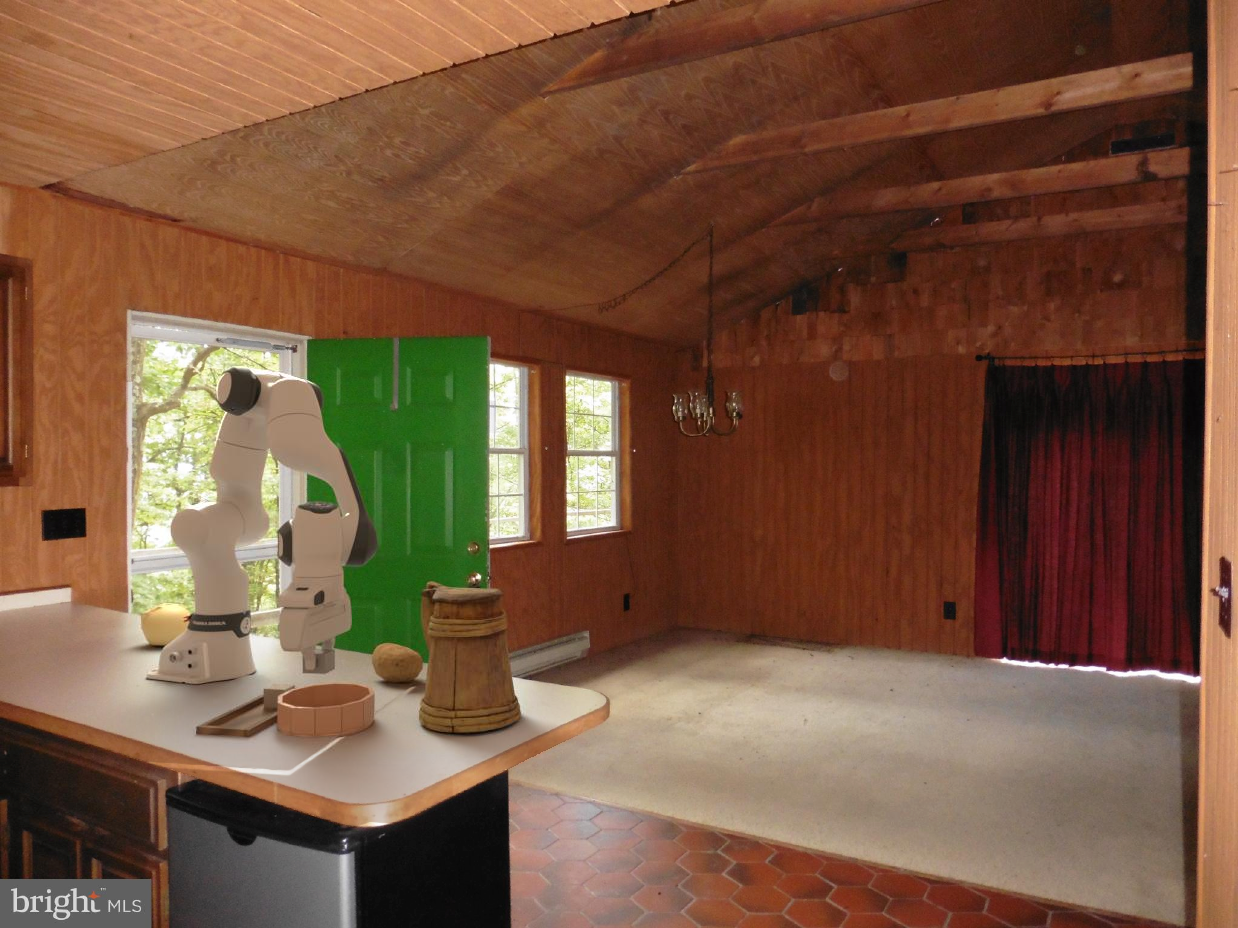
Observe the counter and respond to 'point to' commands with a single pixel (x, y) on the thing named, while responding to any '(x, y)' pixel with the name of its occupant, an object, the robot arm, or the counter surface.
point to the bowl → (326, 710)
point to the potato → (396, 663)
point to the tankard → (466, 661)
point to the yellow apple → (164, 623)
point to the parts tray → (241, 720)
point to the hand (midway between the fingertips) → (318, 665)
